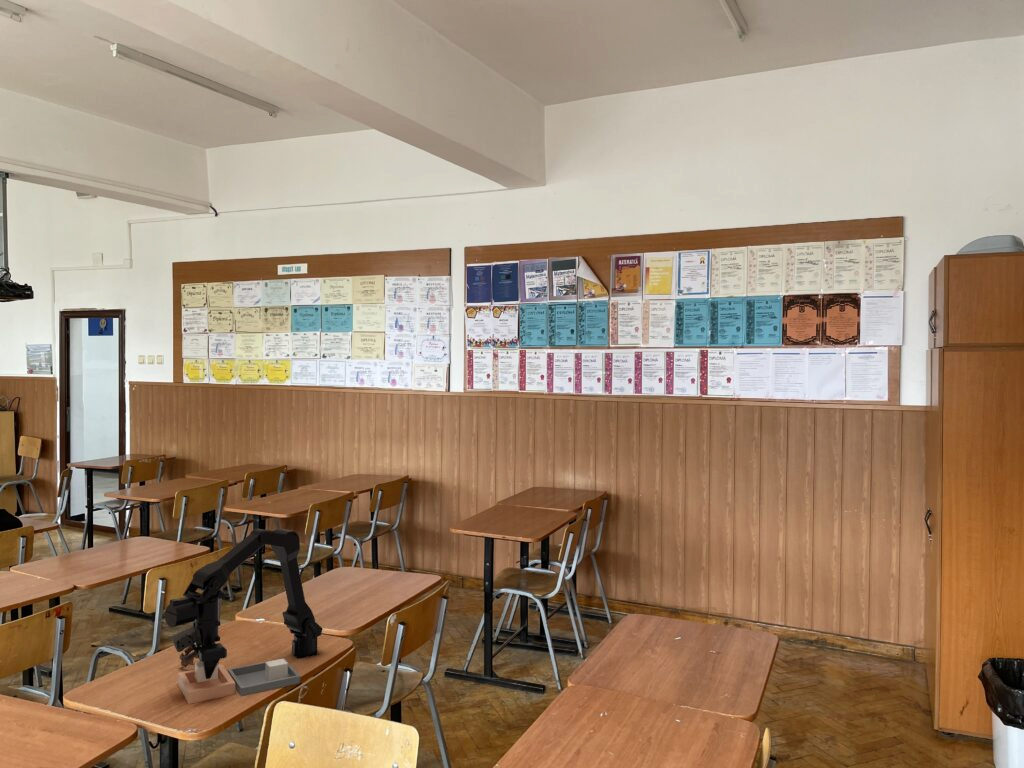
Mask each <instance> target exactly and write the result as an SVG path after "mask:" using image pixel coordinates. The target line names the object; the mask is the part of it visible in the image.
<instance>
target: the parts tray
mask: <svg viewBox="0 0 1024 768" xmlns="http://www.w3.org/2000/svg"><path fill="white" fill-rule="evenodd" d="M279 659H280V658H277V659H276V660H279ZM281 659H284V660H285V661H286V662H287V663H288V677H287V678H282V679H278V680H273V681H268V679H267V678H266V677H265V662H268V661H269V660H267V661H262V662H258V663H257V662H256V663H252V664H247V665H242V666H237V667H231V668H227V672H228V673H229V675H230V676H231V678H232V679H233V680H234V682H235V691H237V692H238V695H240V697H244V696H249V695H253V694H258V693H262V692H266V691H271V690H276V689H281V688H286V687H291V686H294V685H300V684H301V675H300V673H298V672H297V671H296V670H295V668H294V667H293V666H292V665H291V664H290V663H289V662H288V661H287V660H286V658H285V657H283V658H281ZM274 660H275V659H272V660H271V661H274Z"/></svg>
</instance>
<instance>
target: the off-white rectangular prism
mask: <svg viewBox="0 0 1024 768" xmlns="http://www.w3.org/2000/svg"><path fill="white" fill-rule="evenodd" d="M278 659H279V660H277V659H273V660H274V661H272V660H267V661H268V662H267V661H264V662H265V677H266V678H267V679H268V681H273V680H278V679H282V678H287V677H288V663H289V662H288V661H287V660H286V659H285V658H284V659H285V660H286V661H287V662H288V663H287V662H286V661H285V660H284V659H282V658H278Z"/></svg>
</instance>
